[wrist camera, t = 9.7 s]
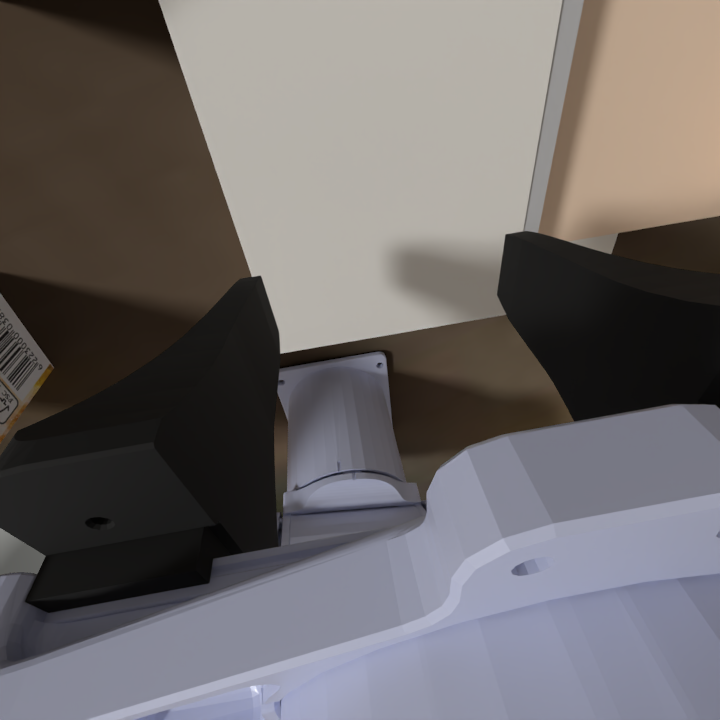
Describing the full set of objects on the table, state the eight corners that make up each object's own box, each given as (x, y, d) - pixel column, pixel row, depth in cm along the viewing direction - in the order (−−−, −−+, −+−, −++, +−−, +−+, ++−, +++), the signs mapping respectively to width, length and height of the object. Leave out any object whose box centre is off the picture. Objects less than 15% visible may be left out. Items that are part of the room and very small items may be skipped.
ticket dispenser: (601, 247, 24) (659, 288, 20) (280, 301, 23) (278, 354, 19) (711, -101, 14) (859, -149, 11) (184, -22, 14) (144, -42, 10)
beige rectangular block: (730, 206, 21) (838, 249, 17) (441, 255, 21) (478, 311, 17) (865, -54, 15) (1093, -89, 11) (448, 11, 14) (511, 1, 10)
